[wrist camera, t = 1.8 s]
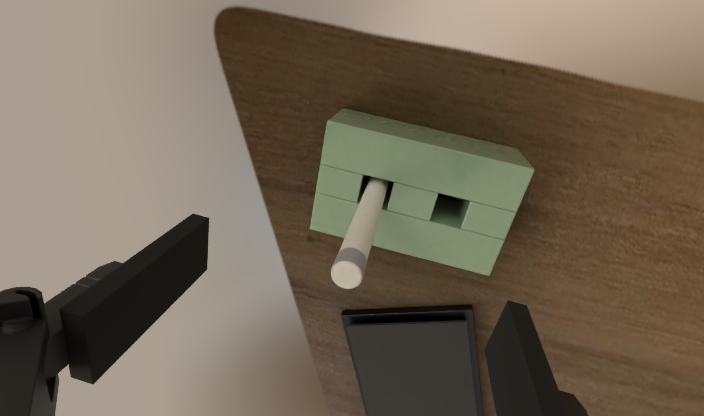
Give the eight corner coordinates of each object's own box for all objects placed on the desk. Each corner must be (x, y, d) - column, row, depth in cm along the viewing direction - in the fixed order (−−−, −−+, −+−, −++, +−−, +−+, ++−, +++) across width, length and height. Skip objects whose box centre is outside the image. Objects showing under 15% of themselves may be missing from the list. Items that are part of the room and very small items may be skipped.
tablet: (342, 310, 36) (340, 315, 35) (471, 304, 33) (472, 310, 33) (375, 438, 43) (374, 445, 42) (485, 442, 40) (486, 449, 39)
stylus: (370, 168, 30) (323, 272, 16) (384, 157, 29) (347, 256, 16) (382, 182, 30) (345, 295, 17) (395, 171, 30) (369, 279, 16)
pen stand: (342, 107, 28) (327, 120, 24) (517, 148, 27) (535, 169, 23) (326, 202, 32) (309, 229, 27) (480, 242, 31) (489, 276, 26)
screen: (346, 324, 35) (346, 326, 35) (466, 319, 32) (467, 322, 32) (378, 446, 41) (377, 448, 41) (480, 450, 39) (481, 453, 38)
